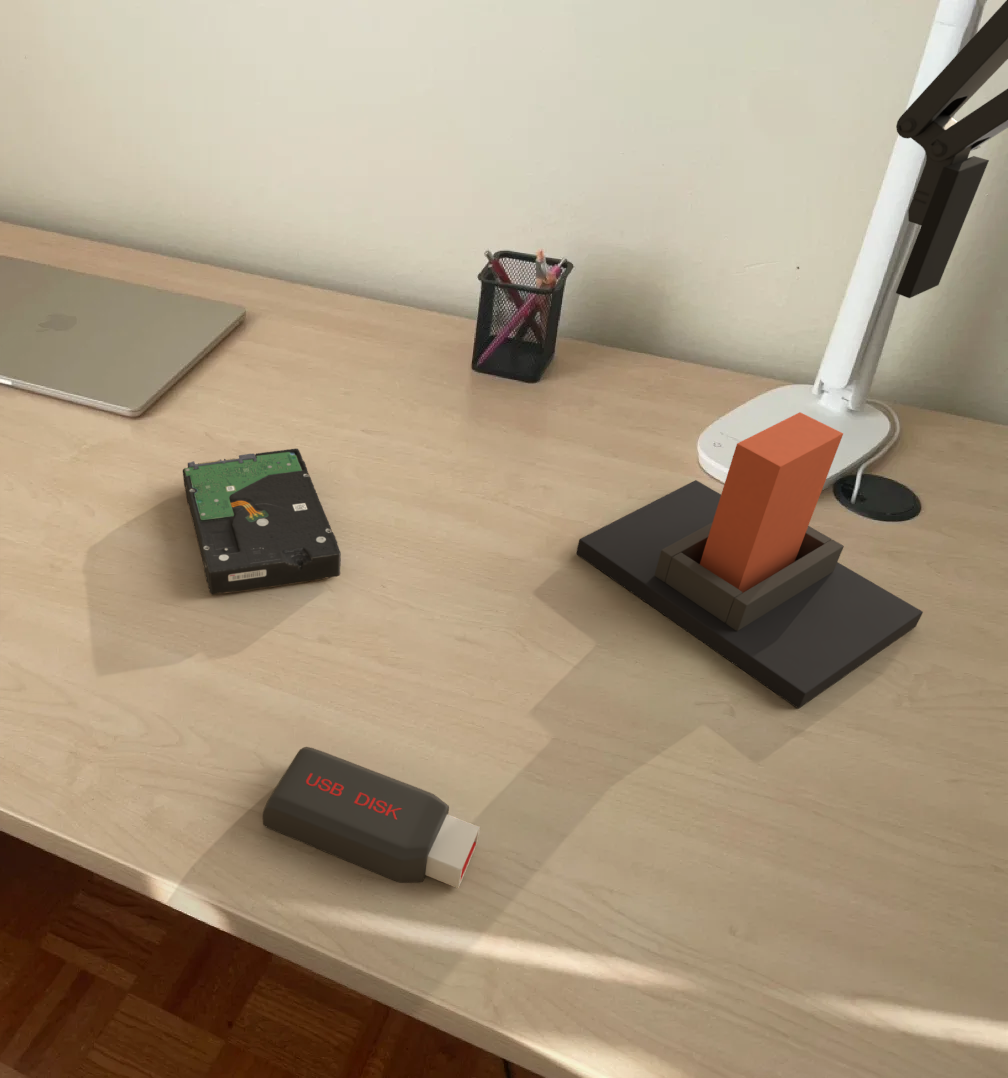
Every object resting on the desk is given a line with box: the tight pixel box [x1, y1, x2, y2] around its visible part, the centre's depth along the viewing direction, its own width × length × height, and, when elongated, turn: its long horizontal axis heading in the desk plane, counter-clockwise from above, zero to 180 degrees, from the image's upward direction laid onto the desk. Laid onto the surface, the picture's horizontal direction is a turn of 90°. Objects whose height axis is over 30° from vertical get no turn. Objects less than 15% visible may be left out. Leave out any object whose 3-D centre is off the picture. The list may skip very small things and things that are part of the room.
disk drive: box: [182, 448, 342, 596], centre depth 85 cm, size 10×3×15 cm
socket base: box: [575, 479, 924, 709], centre depth 79 cm, size 20×14×4 cm
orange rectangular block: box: [700, 412, 844, 593], centre depth 75 cm, size 3×7×12 cm, turn 125°
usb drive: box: [262, 746, 481, 889], centre depth 62 cm, size 5×12×3 cm, turn 63°
